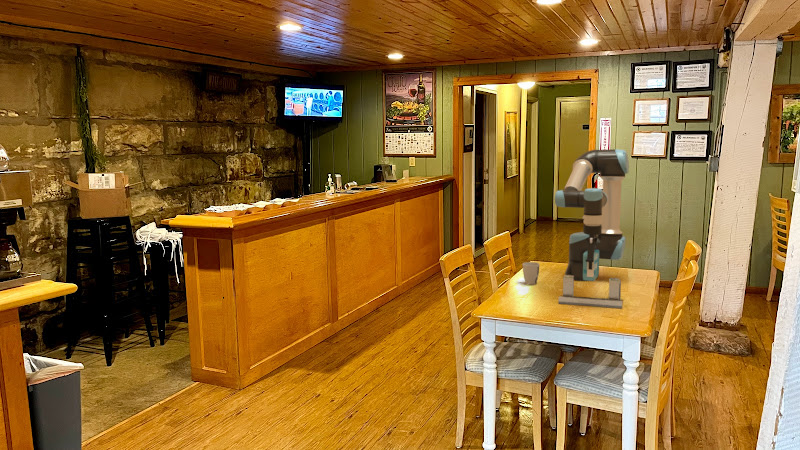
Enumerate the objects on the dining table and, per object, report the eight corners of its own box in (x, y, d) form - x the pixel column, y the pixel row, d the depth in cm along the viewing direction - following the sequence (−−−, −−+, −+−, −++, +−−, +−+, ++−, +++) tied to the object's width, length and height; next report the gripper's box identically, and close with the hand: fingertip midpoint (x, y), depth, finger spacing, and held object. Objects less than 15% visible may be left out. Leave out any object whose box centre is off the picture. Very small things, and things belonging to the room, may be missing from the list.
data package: (593, 281, 256) (594, 254, 254) (582, 280, 258) (583, 253, 256) (598, 275, 266) (599, 249, 264) (588, 274, 268) (589, 248, 267)
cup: (539, 285, 293) (540, 265, 292) (522, 285, 294) (522, 265, 293) (538, 281, 301) (538, 262, 300) (522, 281, 302) (522, 262, 301)
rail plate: (561, 297, 272) (561, 273, 270) (622, 302, 262) (623, 276, 261) (558, 303, 263) (558, 278, 261) (622, 308, 253) (622, 282, 251)
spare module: (610, 297, 270) (611, 279, 268) (620, 298, 268) (621, 280, 267) (610, 300, 265) (611, 282, 264) (620, 301, 264) (620, 282, 262)
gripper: (585, 220, 271) (584, 267, 274) (581, 228, 249) (579, 279, 252) (603, 221, 269) (601, 268, 272) (600, 229, 246) (598, 280, 249)
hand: (591, 273), depth 262 cm, fingers closed on data package, 12 cm apart
